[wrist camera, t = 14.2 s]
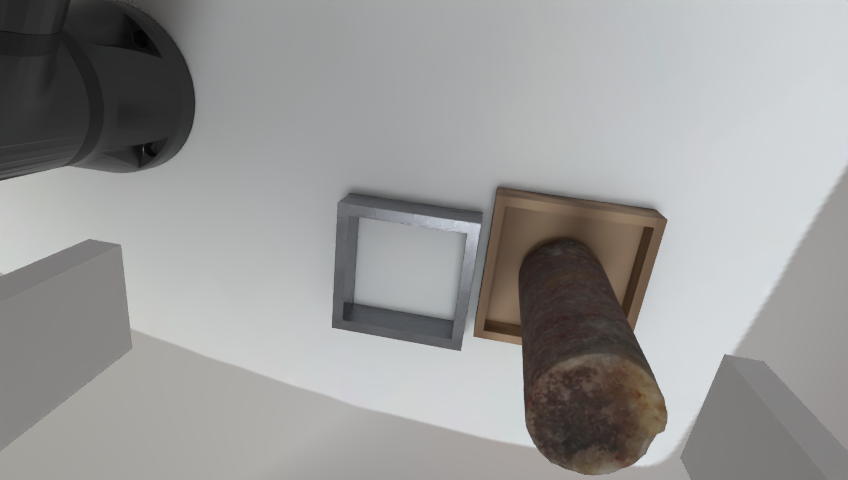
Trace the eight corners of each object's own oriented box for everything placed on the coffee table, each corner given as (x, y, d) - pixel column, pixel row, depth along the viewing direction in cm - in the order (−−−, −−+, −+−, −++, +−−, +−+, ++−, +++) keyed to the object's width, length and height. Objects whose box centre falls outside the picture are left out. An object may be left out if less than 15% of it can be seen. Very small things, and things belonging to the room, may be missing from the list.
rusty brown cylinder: (498, 271, 43) (496, 419, 25) (557, 216, 41) (606, 334, 22) (557, 324, 44) (598, 505, 25) (619, 273, 42) (715, 433, 23)
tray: (475, 320, 46) (473, 336, 43) (497, 187, 42) (497, 195, 39) (616, 345, 45) (623, 363, 42) (655, 209, 40) (667, 219, 37)
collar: (343, 310, 48) (331, 327, 45) (349, 193, 44) (337, 202, 41) (463, 331, 47) (460, 350, 44) (482, 212, 43) (480, 224, 39)
